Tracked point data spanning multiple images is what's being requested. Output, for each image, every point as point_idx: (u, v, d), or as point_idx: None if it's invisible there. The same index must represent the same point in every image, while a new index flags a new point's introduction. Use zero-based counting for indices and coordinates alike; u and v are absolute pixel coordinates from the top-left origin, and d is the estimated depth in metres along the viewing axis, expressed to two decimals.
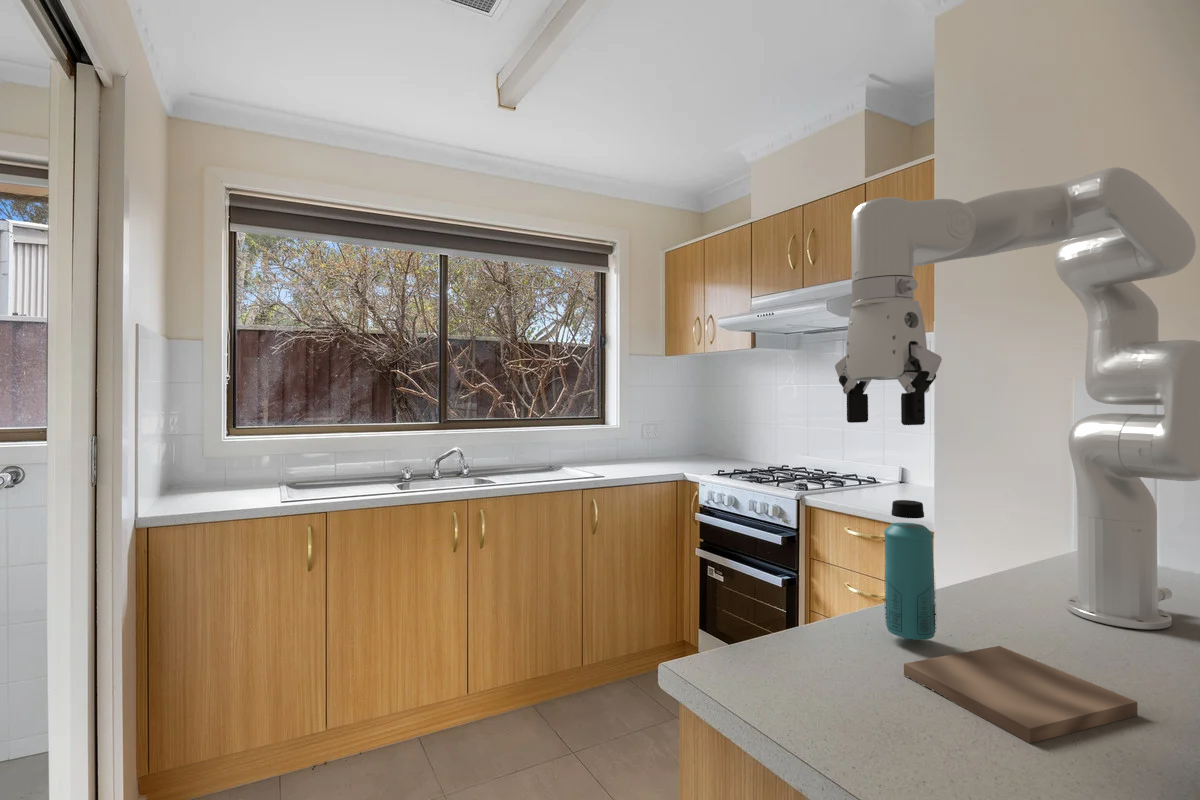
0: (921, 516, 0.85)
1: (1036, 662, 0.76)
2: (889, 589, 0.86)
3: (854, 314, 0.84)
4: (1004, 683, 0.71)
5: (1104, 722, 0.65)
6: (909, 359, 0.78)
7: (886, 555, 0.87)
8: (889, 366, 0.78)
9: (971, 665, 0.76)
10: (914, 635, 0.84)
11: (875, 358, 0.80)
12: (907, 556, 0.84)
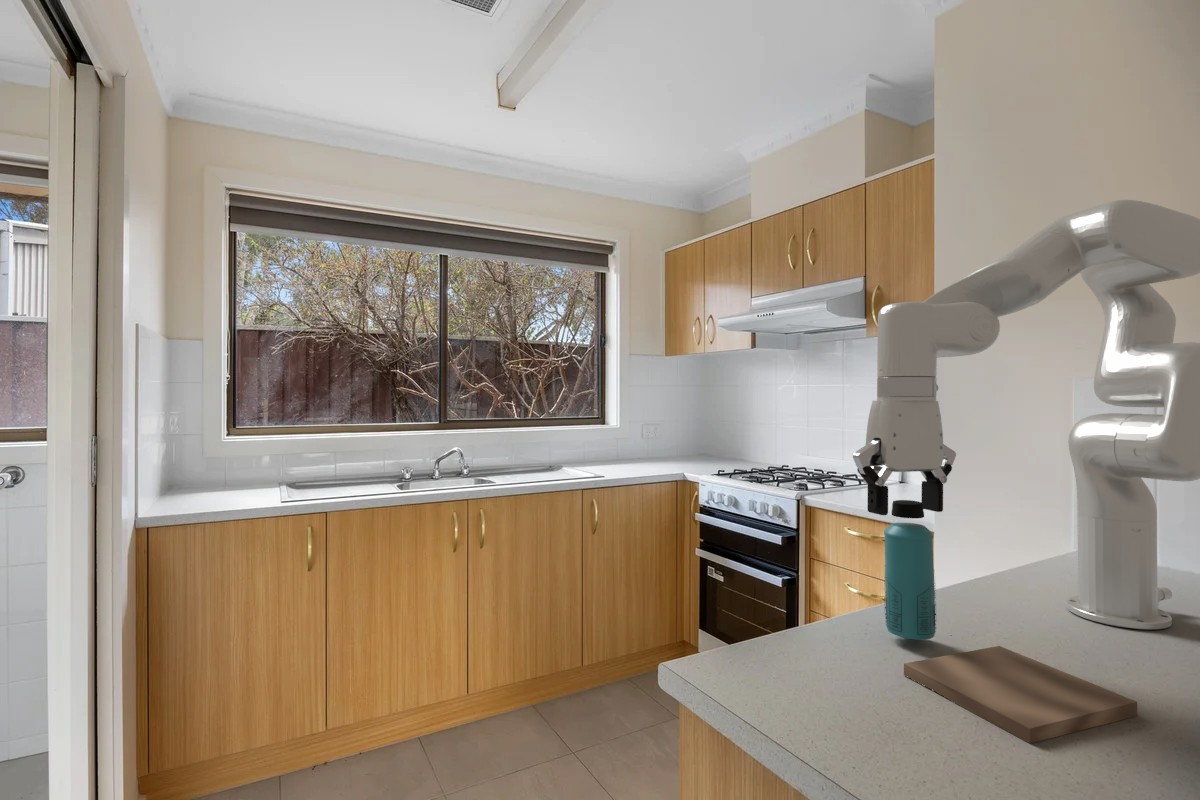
0: (921, 516, 0.85)
1: (1036, 662, 0.76)
2: (889, 589, 0.86)
3: (904, 407, 0.84)
4: (1004, 683, 0.71)
5: (1104, 722, 0.65)
6: None
7: (886, 555, 0.87)
8: (936, 460, 0.86)
9: (971, 665, 0.76)
10: (914, 635, 0.84)
11: (925, 452, 0.85)
12: (907, 556, 0.84)
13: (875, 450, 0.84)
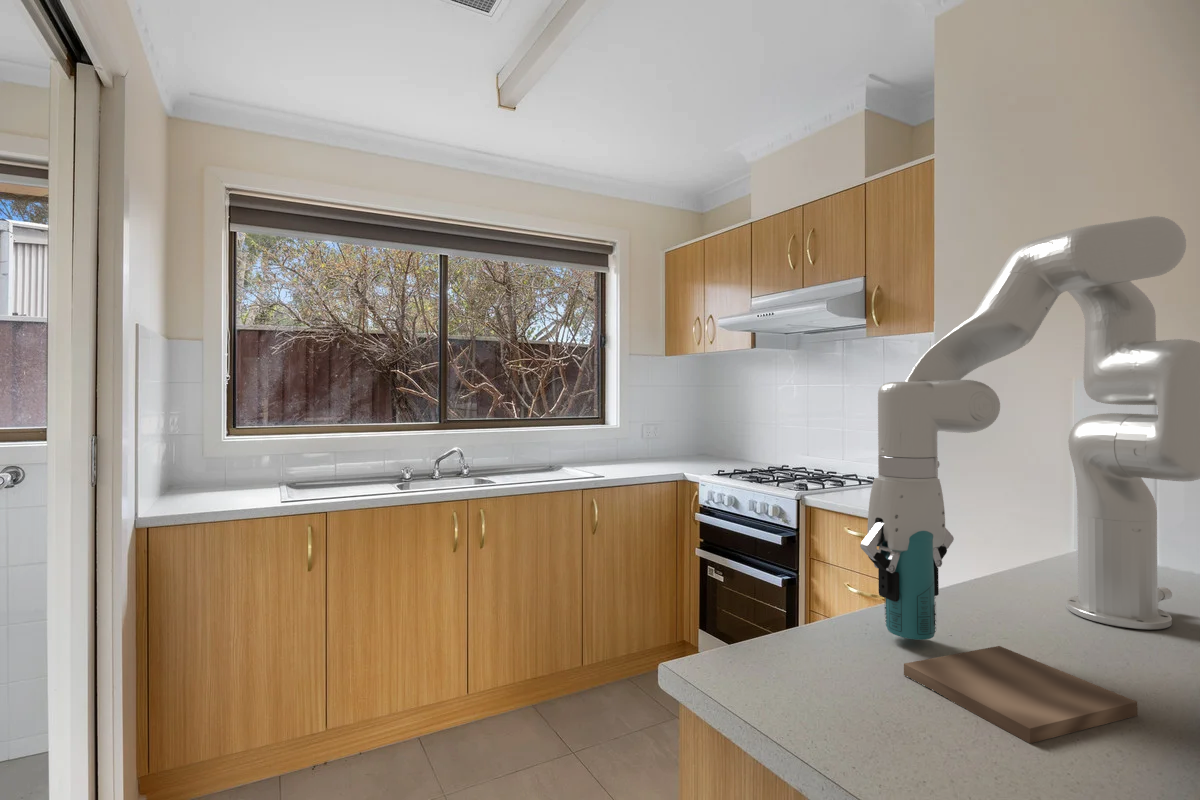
0: None
1: (1036, 662, 0.76)
2: None
3: (905, 488, 0.84)
4: (1004, 683, 0.71)
5: (1104, 722, 0.65)
6: None
7: None
8: (938, 538, 0.86)
9: (971, 665, 0.76)
10: (914, 635, 0.84)
11: None
12: (907, 556, 0.84)
13: (880, 535, 0.85)
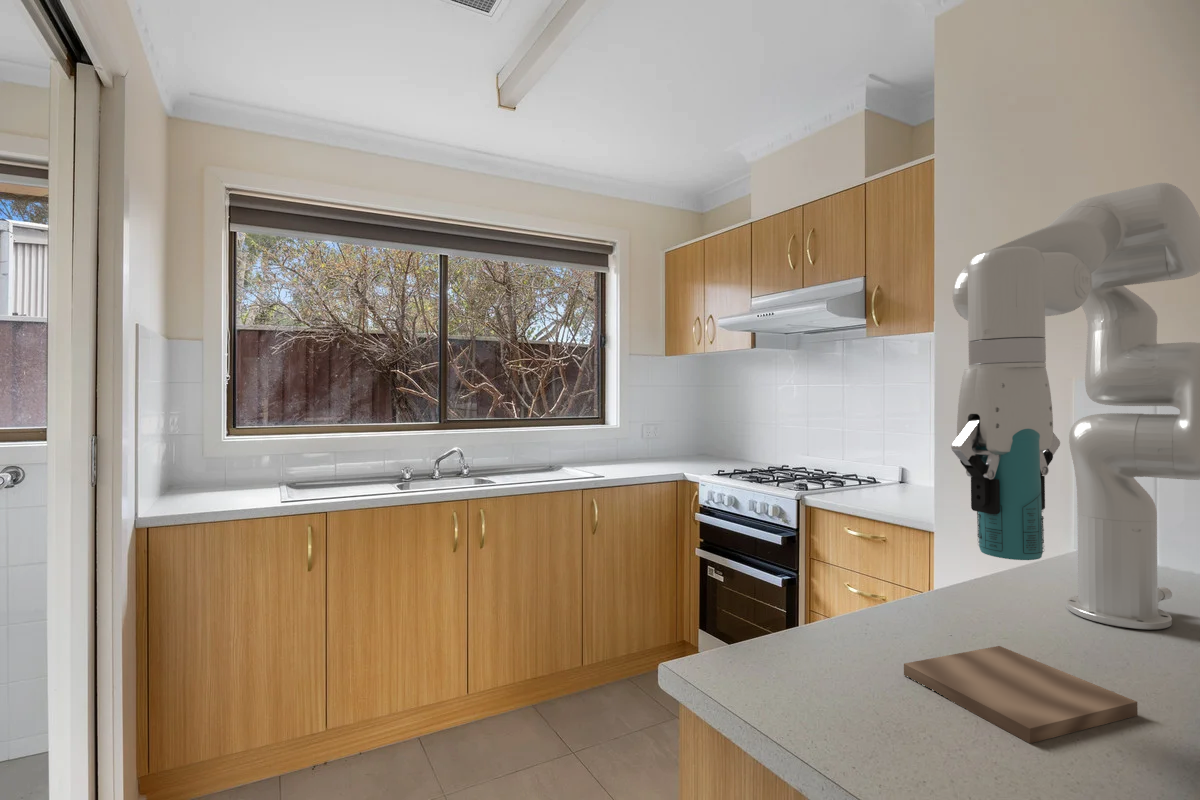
0: None
1: (1036, 662, 0.76)
2: None
3: (1008, 375, 0.69)
4: (1004, 683, 0.71)
5: (1104, 722, 0.65)
6: None
7: None
8: (1045, 439, 0.71)
9: (971, 665, 0.76)
10: (1019, 554, 0.69)
11: None
12: (1009, 459, 0.69)
13: (976, 434, 0.69)
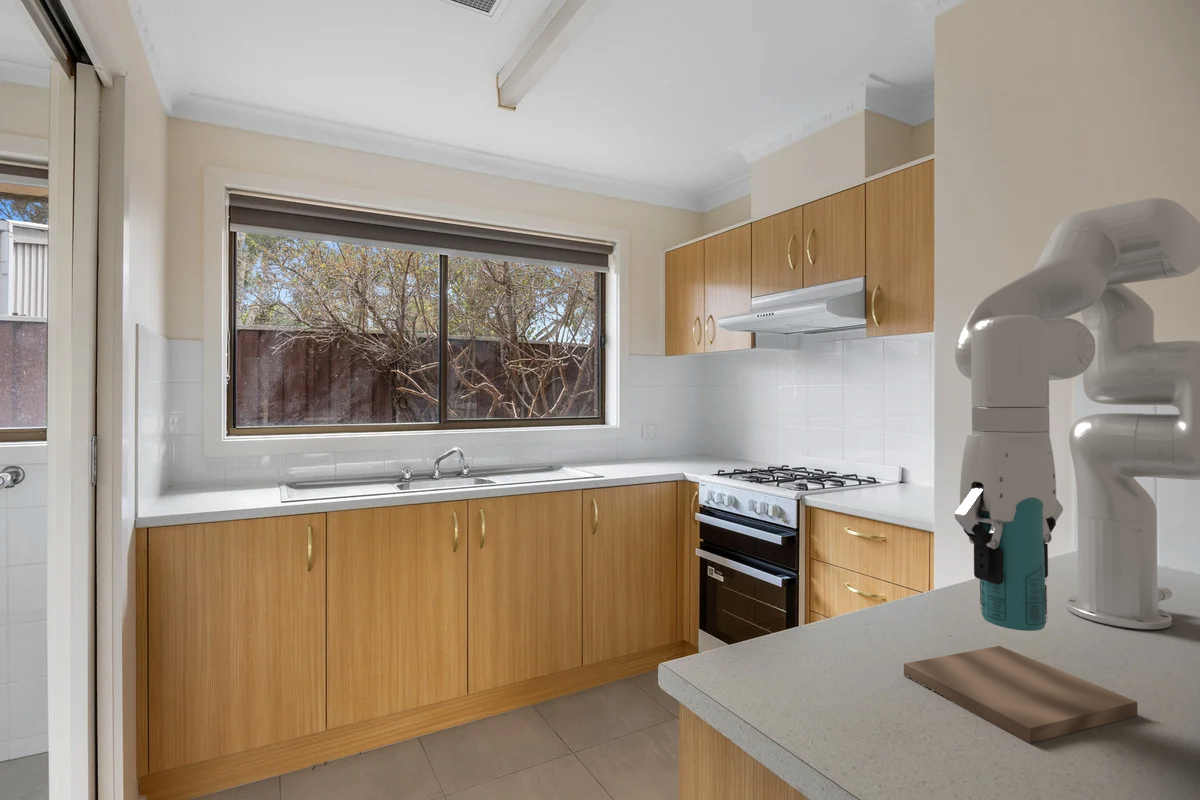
0: None
1: (1036, 662, 0.76)
2: None
3: (1011, 444, 0.68)
4: (1004, 683, 0.71)
5: (1104, 722, 0.65)
6: None
7: None
8: (1048, 507, 0.70)
9: (971, 665, 0.76)
10: (1022, 625, 0.68)
11: None
12: (1013, 528, 0.69)
13: (980, 503, 0.69)
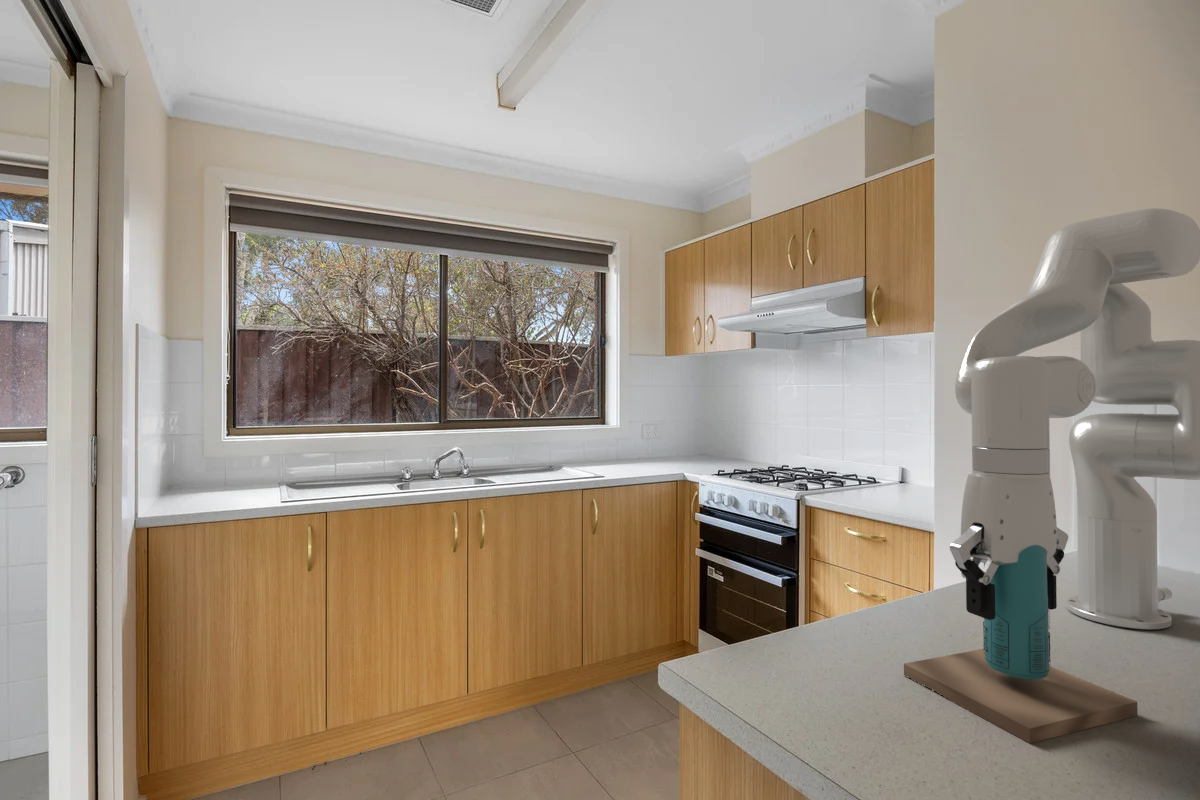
0: None
1: None
2: None
3: (1012, 486, 0.68)
4: (1004, 683, 0.71)
5: (1104, 722, 0.65)
6: None
7: None
8: (1049, 547, 0.70)
9: (971, 665, 0.76)
10: (1025, 673, 0.69)
11: (1037, 539, 0.69)
12: (1016, 577, 0.69)
13: (977, 540, 0.69)
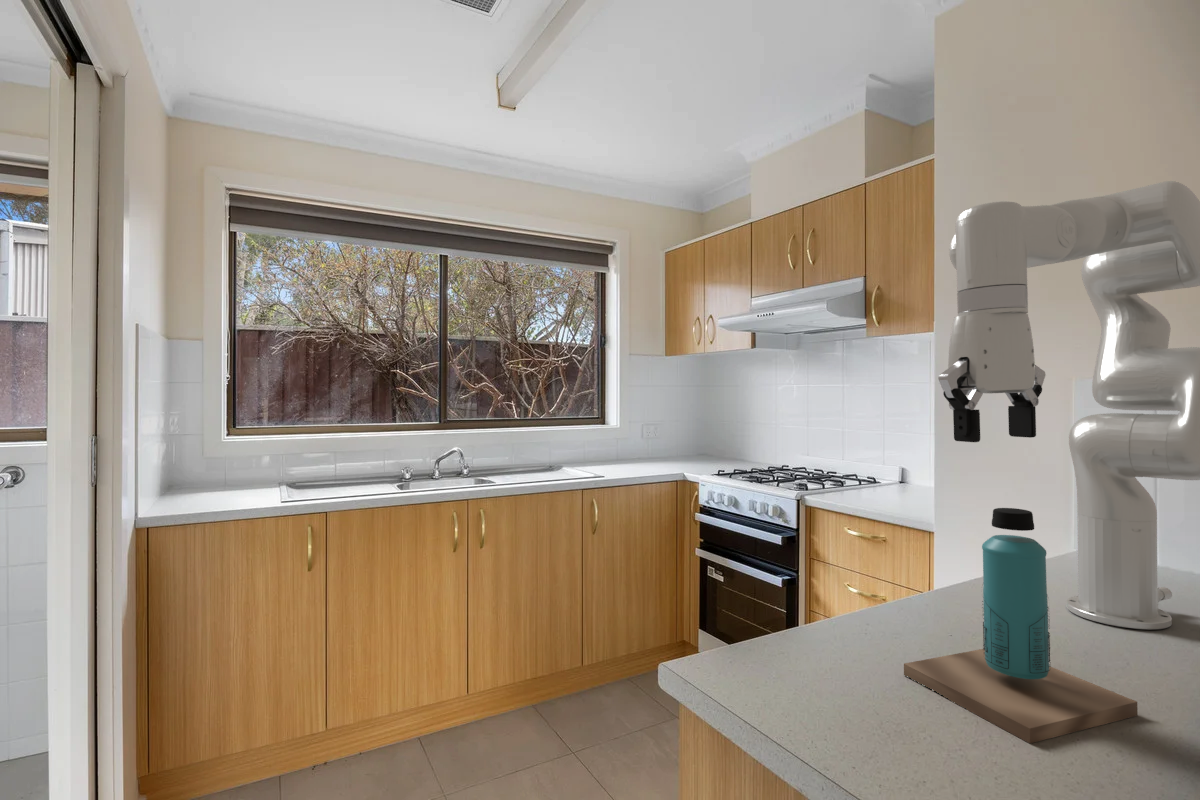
0: (1032, 528, 0.70)
1: None
2: (990, 617, 0.71)
3: (994, 320, 0.75)
4: (1004, 683, 0.71)
5: (1104, 722, 0.65)
6: None
7: (986, 575, 0.72)
8: (1028, 379, 0.77)
9: (971, 665, 0.76)
10: (1025, 673, 0.69)
11: (1017, 370, 0.76)
12: (1016, 577, 0.69)
13: (963, 370, 0.75)
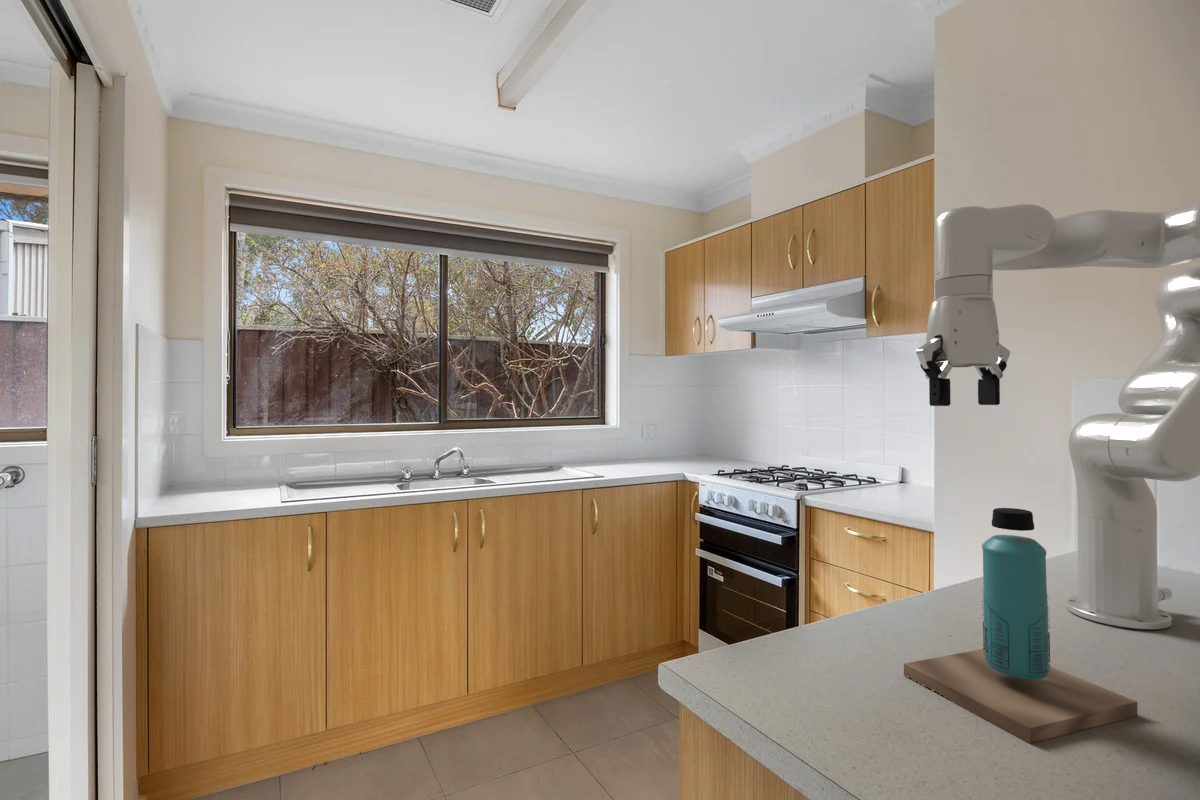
0: (1032, 528, 0.70)
1: None
2: (990, 617, 0.71)
3: (963, 304, 0.90)
4: (1004, 683, 0.71)
5: (1104, 722, 0.65)
6: None
7: (986, 575, 0.72)
8: (993, 355, 0.92)
9: (971, 665, 0.76)
10: (1025, 673, 0.69)
11: (983, 347, 0.91)
12: (1016, 577, 0.69)
13: (937, 346, 0.90)
